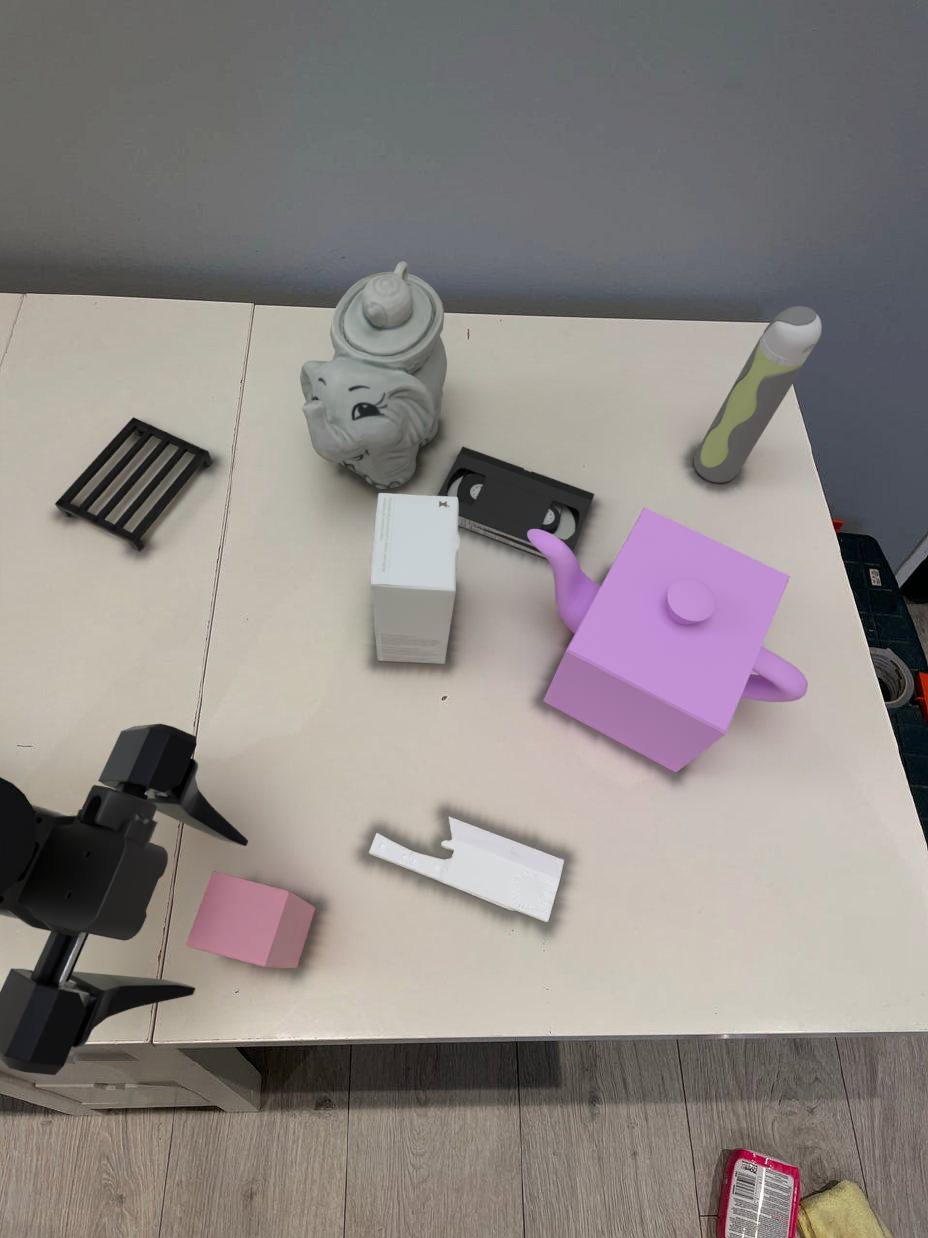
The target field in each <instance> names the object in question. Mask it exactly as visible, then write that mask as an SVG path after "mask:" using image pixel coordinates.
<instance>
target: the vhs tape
mask: <svg viewBox="0 0 928 1238" xmlns="http://www.w3.org/2000/svg"><path fill="white" fill-rule="evenodd" d="M436 496H449V497H457V498H458V501H459V512H458V528H462V529H464V530H467V531H470V532H472V533H475V534H478V535H481V536H483V537H486V538H488V539H491V540H494V541H496V542H499V543H503V544H505V545H507V546H510V547H512V548H515V549H518V550H520V551H523V552H526V553H529V554H531V555H534V556H536V557H539V558H542V559H544V560H547V558H546V557H545V556H544V555H543V554H542V553H541V552H540V551H539V550H538V549H537V548H536V547H535V546H534V545H533V544H532V543H531V542H530V540H529V539H528V536H527V533H528V531H529V530H531V529H539V530H543V531H546V532H548V533H550V534H552V535H554V536H556V537H557V538H559V539H560V540H561V541H563V542H564V543H565V544H566V545H567V546H568V547H569V548H570V550H571V551H572V552H573V550H574V547H575V545H576V543H577V540H578V538H579V535H580V532H581V530H582V527H583V525H584V522H585V519H586V517H587V514H588V512H589V510H590V507H591V504H592V502H593V499H594V497H595V493H593V492H591V491H588V490H585V489H584V488H583V489H582V488H580V487H577V486H574V485H572V484H568V483H566V482H563V481H560V480H558V479H554V478H552V477H549V476H546V475H543V474H540V473H538V472H536V471H533V470H532V471H530V470H527V469H525V468H524V467H521V466H518V465H516V464H513V463H510V462H508V461H504V460H502V459H499V458H496V457H494V456H492V455H488V454H485V453H483V452H480V451H477V450H474V449H471V448H469V447H466V446H462V447H461V448H460V450H459V452H458V454H457V457H456V459H455V460H454V462H453V463H452V466H451V468H450V469H449V471H448V474H447V476H446V478H445V480H444V481H443V483H442V486H441V488H440V490H439V491H438V493H437V495H436Z"/></svg>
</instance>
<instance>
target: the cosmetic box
mask: <svg viewBox="0 0 928 1238" xmlns="http://www.w3.org/2000/svg"><path fill="white" fill-rule="evenodd" d="M458 512H459V501H458V498H457V497H449V496H437V495H424V494H406V493H405V494H403V493H387V492H379V493H378V494H377V501H376V511H375V513H376V514H375V520H374V521H375V523H374V530H373V532H374V535H373V544H372V556H371V565H370V566H371V567H370V587H371V588H370V589H371V598H372V599H371V600H372V601H371V602H372V611H373V623H374V634H375V636H374V637H375V646H376V656H377V657H376V658H377V661H379V662H392V663H393V662H396V663H397V662H398V663H415V664H416V663H419V664H437V665H439V664H440V665H445V664H446V659H447V651H448V645H449V638H450V633H451V632H450V631H451V625H452V618H453V611H454V605H455V599H456V594H457V582H458V581H457V579H458V577H457V576H458V550H459V547H460V544H461V539H460V535H459V526H458Z"/></svg>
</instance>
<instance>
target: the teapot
mask: <svg viewBox="0 0 928 1238" xmlns="http://www.w3.org/2000/svg"><path fill="white" fill-rule="evenodd" d="M527 536H528V539H529V540H530V542H531V543H532V544H533V545H534V546H535V547H536V548H537V549H538V550H539V551H540V552H541V553H542V554H543V555H544V556H545V557H546V558H547V559H546V560H547V561H548V563H549V565H550V568H551V570H552V575H553V581H554V583H553V584H554V596H555V597H554V598H555V604H556V608H557V613H558V614H559V616H560V618H561V620H562V621H563V623H564V624H565V625H566V626H567V628H568V629H569V630H570V631H571V632H572V633H573V634H574V635H573V637H572V639H571V640H570V643H569V644H568V646H567V648H566V650H565V652H564V654H563V656H562V658H561V661H560V662H559V665H558V667H557V670H556V672H555V674H554V675H553V678H552V680H551V682H550V685H549V688H548V689H547V691H546V693H545V696H544V697H543V700H542V702H543V703H545V704H547V705H549V706H550V707H552V708H554V709H555V710H558V711H560V712H562V713H564V714H565V715H567V716H569V717H571V718H573V719H574V720H577V721H578V722H581V723H582V724H583V725H586V726H588V727H590V728H591V729H593V730H595V731H597V732H599V733H601V734H603V735H604V736H607V737H608V738H609V739H612V740H614V741H616V742H618V743H620V744H622V745H624V746H625V747H627V748H629V749H631V750H633V751H634V752H637V753H638V754H640V755H642V756H644V757H646V758H647V759H649V760H651V761H653V762H655V763H656V764H658V765H660V766H662V767H664V768H666V769H668V770H670V771H671V772H673V773H675V774H676V773H678V772H679V771H680V770H682V769H683V768H684V767H685V766H687V765H688V764H690V762H692V761H693V760H694V759H695V758H697V757H698V756H700V755H701V754H702V753H703V752H705V751H706V750H707V749H709V748H710V747H711V746H713V745H714V744H716V742H718V741H719V740H720V739H722V738H723V737H724V736H725V735H726V734H727V732H728V730H729V727H730V725H731V722H732V719H733V717H734V715H735V712H736V710H737V708H738V705H739V703H740V701H741V699H746V700H751V701H752V700H753V701H758V702H765V703H766V702H768V703H790V702H795V701H798V700H800V699H802V698H803V697H804V696H805V695H806V694H807V692H808V687H809V682H808V680H807V678H806V676H805V674H804V673H803V672H802V671H801V670H800V669H799V668H798V667H796V666H795V665H794V664H793V663H792V662H789V661H788V660H787V659H785V658H783V657H782V656H780V655H779V654H777V653H775V652H773V651H772V650H770V649H768V648H766V647H764V646H763V645H764V642H765V639H766V636H767V634H768V632H769V629H770V627H771V624H772V622H773V619H774V618H775V614H776V612H777V610H778V607H779V605H780V603H781V600H782V597H783V595H784V593H785V590H786V588H787V586H788V583H789V580H790V578H791V576H790V575H789V574H787V573H784V572H782V571H779V570H778V569H776V568H774V567H771V566H769V565H768V564H766V563H763V562H761V561H759V560H757V559H755V558H753V557H751V556H749V555H748V554H744V553H743V552H741V551H739V550H737V549H735V548H732V547H730V546H728V545H726V544H724V543H722V542H720V541H718V540H716V539H714V538H711V537H709V536H707V535H705V534H703V533H700V532H698V531H696V530H695V529H692V528H690V527H689V526H686V525H683V524H681V523H679V522H677V521H675V520H673V519H671V518H668V517H667V516H664V515H662V514H660V513H657V512H656V511H654V510H652V509H650V508H648V507H646V506H643V508H642V510H641V511H640V513H639V515H638V516H637V519H636V521H635V523H634V525H633V526H632V528H631V530H630V532H629V533H628V535H627V537H626V539H625V541H624V543H623V545H622V546H621V549H620V550H619V552H618V554H617V556H616V557H615V559H614V561H613V563H612V565H611V567H610V569H609V571H608V572H607V574H606V576H605V578H604V580H603V581H602V583H601V585H599V584H598V583H596V582H595V580H592V579H591V578H590V577H589V576H588V575H587V574H586V573H585V572H584V570H583V569H582V568H581V566H580V563H579V560H578V559H577V557H576V555H575V553H574V552H573V550H572V551H571V550H570V548H569V547H568V546H567V545H566V544H565V543H564V542H563V541H561V540H560V539H559V538H557V537H556V536H554V535H552V534H550V533H548V532H546V531H543V530H539V529H531V530H529V531H528V533H527ZM752 672H753V673H752ZM754 673H755V674H754Z"/></svg>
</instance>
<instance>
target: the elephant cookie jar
mask: <svg viewBox="0 0 928 1238" xmlns="http://www.w3.org/2000/svg"><path fill="white" fill-rule="evenodd" d="M409 271H410V267H409V264H408V263H407V262H406V261H405V260H404V261H400V262H398V263H397V265H396V266H395V269H394V271H384V272H379V273H374V274H371V275H368V276H366V277H363V278H361V279H359V280H358V281H357V282H355V283H354V284H353V285H351V286H350V287H349V288H348V290H347V291H346V292H345V293H344V295H343V296H342V297H341V298H340V300H339V302H338V303H337V305H336V306H335V309H334V311H333V314H332V319H331V325H330V331H329V336H330V339H331V345H332V348H333V349H334V351H335V352H334V354H333V359H331V360H307V361H305V362H304V363H303V364H302V366H301V370H300V376H299V379H300V386H301V391H302V395H303V396H304V399H305V403H303V405H302V406H301V410H302V412H303V414H304V417H305V419H306V424H307V428H308V434H309V439H310V442H311V445H312V447H313V449H314V451H315V453H316V454H317V455H318V456H319V458H322V459H323V460H325V461H328V462H330V463H339V464H340V465H341V466H342V467H344V468H346V469H348V470H350V471H351V472H353V473H355V474H358V475H359V476H361V477H362V478H363V479H364V480H365V481H366V482H367V483H368V484H370V485H371V486H373V487H375V488H376V489H379V490H390V489H395V488H398V487H401V486H402V485H404V484H406V483H407V482H409V481H410V480H411V479H412V478H413V476H414V475H415V472H416V467H417V460H416V459H417V455H418V452H419V450H420V449H421V448H423V447H424V446H426V445H428V444H429V443H430V442H432V441H433V440H434V439H435V437H436V435H437V433H438V430H439V416H440V414H441V409H442V405H443V396H444V394H443V388H444V385H445V382H446V376H447V368H448V358H447V353H446V348H445V345H444V342H443V340H442V338H441V334H442V332H443V331H444V323H445V309H444V305H443V302H442V300H441V298H440V296H439V295H438V293H437V291H435V289H434V288H433V287H432V286H431V285H430V284H429V283H427V282H426V281H425V280H423V279H422V278H420V277H418V276H417V275H413V274H411V273H409Z"/></svg>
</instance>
